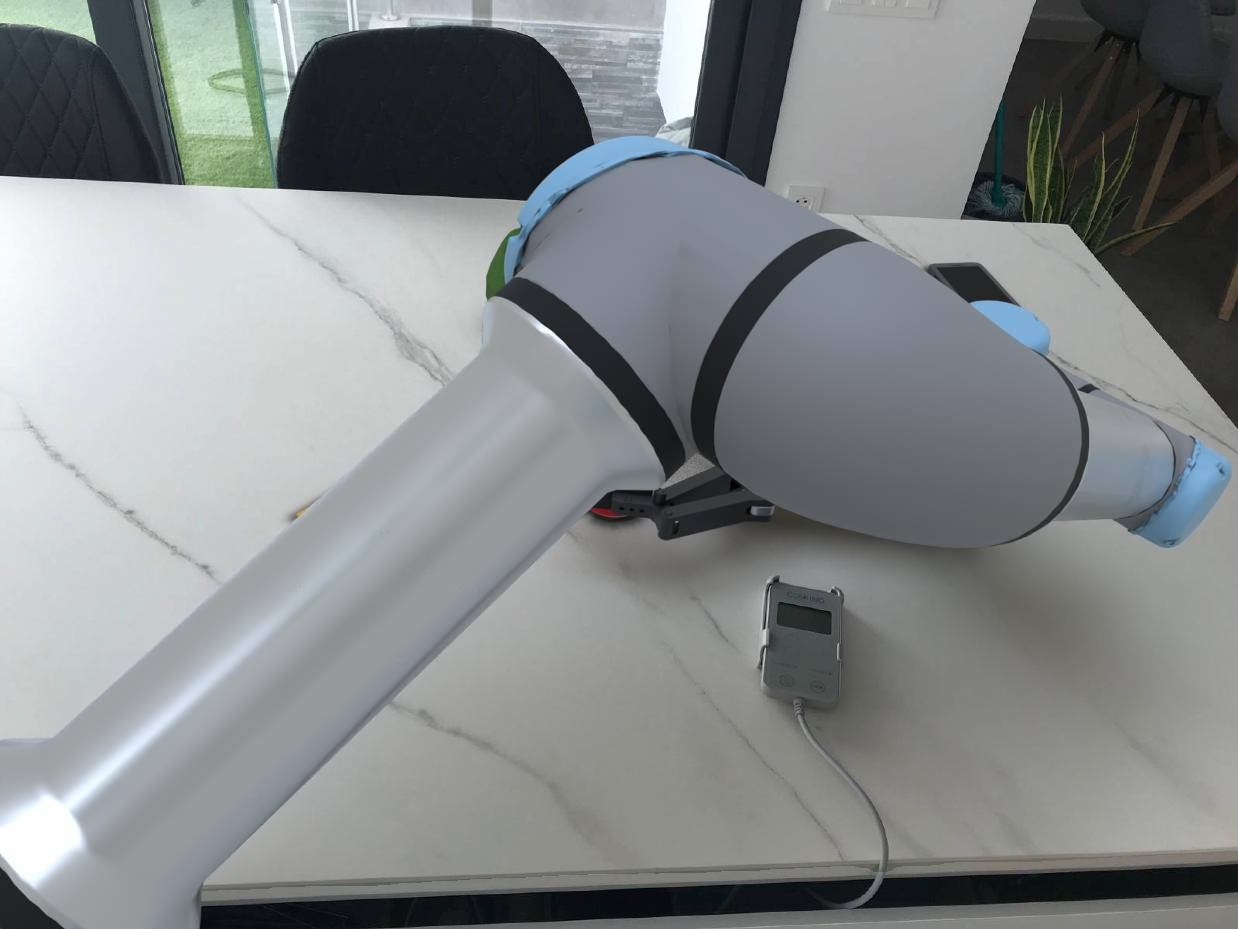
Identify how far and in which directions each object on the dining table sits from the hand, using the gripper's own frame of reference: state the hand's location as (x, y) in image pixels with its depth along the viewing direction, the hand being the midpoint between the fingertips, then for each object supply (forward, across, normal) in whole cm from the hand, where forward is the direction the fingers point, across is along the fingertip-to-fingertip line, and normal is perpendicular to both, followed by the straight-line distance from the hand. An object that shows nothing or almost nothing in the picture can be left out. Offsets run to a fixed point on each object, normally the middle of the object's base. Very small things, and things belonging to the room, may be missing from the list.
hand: (579, 437), depth 83 cm
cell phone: (-45, +44, -7) cm, 63 cm away
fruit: (+9, +26, -7) cm, 28 cm away
